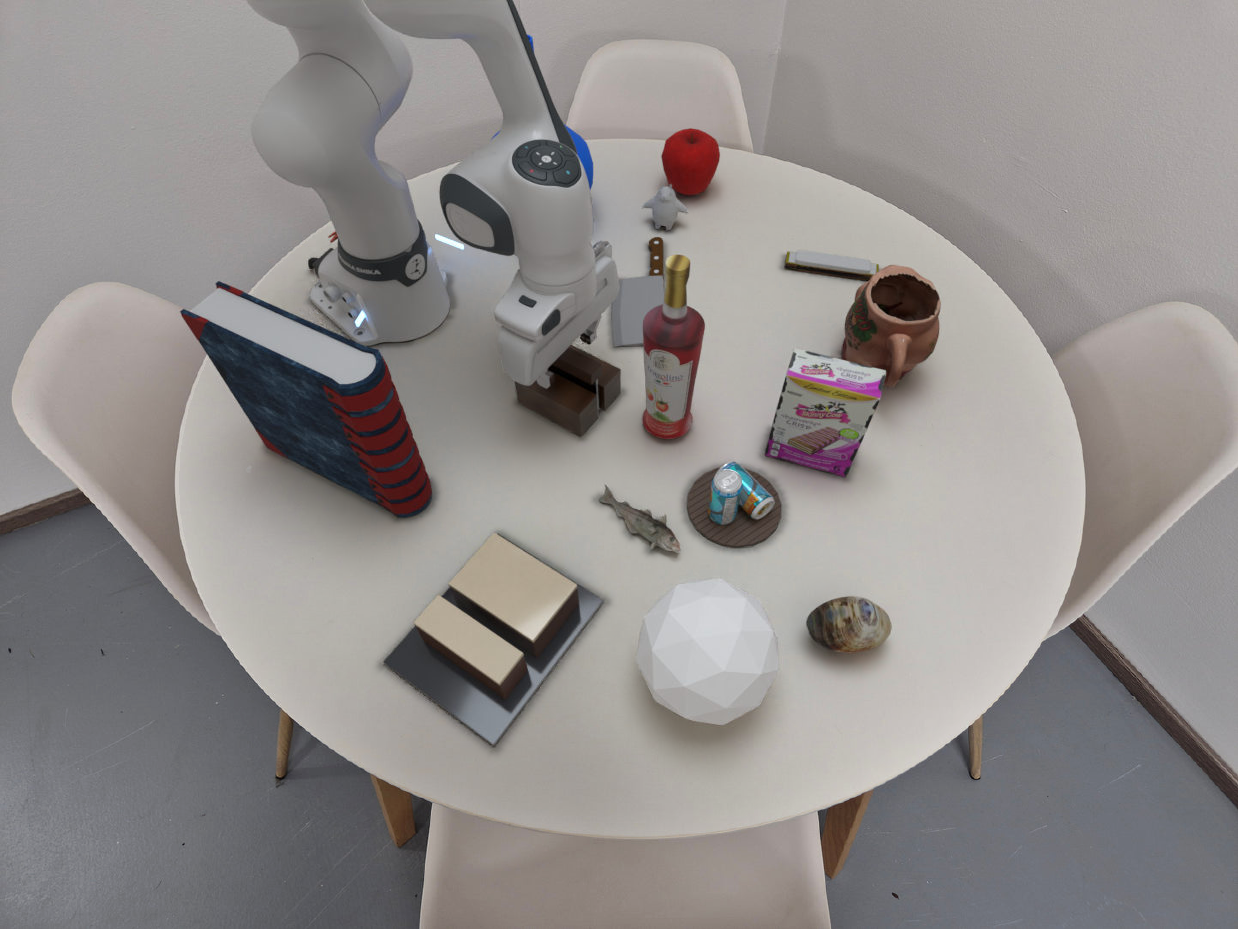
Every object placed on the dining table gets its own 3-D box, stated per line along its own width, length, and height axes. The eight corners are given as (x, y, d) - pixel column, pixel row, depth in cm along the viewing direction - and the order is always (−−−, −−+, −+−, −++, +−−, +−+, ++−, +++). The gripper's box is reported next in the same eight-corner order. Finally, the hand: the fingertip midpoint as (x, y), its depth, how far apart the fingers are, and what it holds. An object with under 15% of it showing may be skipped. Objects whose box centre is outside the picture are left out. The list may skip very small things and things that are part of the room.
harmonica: (784, 269, 123) (786, 259, 122) (786, 257, 125) (788, 247, 123) (876, 282, 121) (879, 272, 120) (876, 270, 123) (880, 260, 121)
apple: (656, 203, 134) (659, 146, 125) (664, 171, 139) (666, 114, 130) (713, 209, 133) (719, 152, 124) (718, 176, 138) (724, 119, 129)
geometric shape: (709, 659, 91) (779, 568, 84) (745, 769, 78) (830, 672, 72) (603, 630, 86) (669, 531, 79) (624, 743, 73) (704, 637, 67)
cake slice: (423, 640, 86) (413, 622, 82) (446, 613, 88) (438, 594, 84) (505, 699, 82) (499, 683, 78) (528, 670, 84) (523, 652, 80)
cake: (384, 664, 85) (370, 644, 81) (498, 535, 95) (491, 511, 90) (494, 746, 80) (486, 731, 76) (603, 601, 90) (602, 580, 85)
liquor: (632, 437, 104) (634, 276, 81) (650, 398, 108) (656, 234, 85) (684, 452, 102) (701, 292, 79) (700, 412, 106) (720, 249, 83)
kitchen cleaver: (614, 237, 127) (675, 235, 126) (615, 242, 128) (675, 240, 127) (609, 344, 113) (677, 343, 112) (610, 349, 114) (677, 347, 113)
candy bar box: (763, 458, 102) (783, 374, 88) (771, 430, 104) (792, 345, 91) (847, 480, 99) (881, 398, 86) (853, 451, 102) (887, 367, 89)
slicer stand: (518, 402, 107) (513, 378, 103) (559, 361, 112) (556, 336, 108) (581, 437, 104) (579, 414, 100) (620, 393, 108) (620, 369, 104)
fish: (675, 567, 93) (697, 533, 93) (664, 565, 90) (687, 529, 90) (596, 508, 100) (617, 476, 99) (583, 504, 96) (604, 471, 96)
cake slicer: (536, 388, 109) (530, 343, 102) (546, 377, 110) (541, 332, 103) (593, 418, 106) (591, 374, 98) (603, 407, 107) (601, 363, 99)
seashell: (877, 613, 89) (897, 582, 82) (888, 661, 85) (910, 632, 79) (795, 616, 88) (809, 584, 82) (803, 663, 85) (818, 635, 79)
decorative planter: (928, 427, 104) (965, 356, 93) (838, 422, 105) (864, 351, 94) (907, 323, 116) (938, 249, 105) (826, 320, 117) (848, 245, 105)
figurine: (638, 229, 130) (639, 189, 123) (645, 208, 133) (646, 168, 126) (685, 235, 128) (688, 195, 122) (690, 214, 132) (694, 173, 125)
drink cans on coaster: (667, 497, 98) (670, 461, 92) (738, 453, 102) (746, 415, 96) (728, 565, 92) (736, 531, 86) (801, 515, 96) (813, 479, 90)
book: (444, 488, 99) (398, 354, 79) (411, 528, 96) (354, 399, 75) (298, 416, 106) (221, 276, 86) (262, 451, 103) (173, 314, 83)
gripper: (589, 224, 96) (594, 306, 108) (483, 319, 87) (501, 399, 98) (630, 242, 94) (631, 324, 105) (526, 341, 84) (539, 420, 96)
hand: (567, 361), depth 102 cm, fingers open, 8 cm apart
